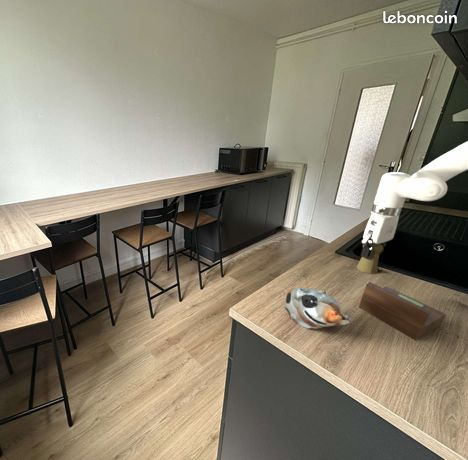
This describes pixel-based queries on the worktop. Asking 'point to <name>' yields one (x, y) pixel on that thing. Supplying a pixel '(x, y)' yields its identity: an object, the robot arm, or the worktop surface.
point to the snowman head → (314, 308)
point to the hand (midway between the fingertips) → (370, 255)
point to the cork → (372, 264)
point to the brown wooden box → (400, 311)
